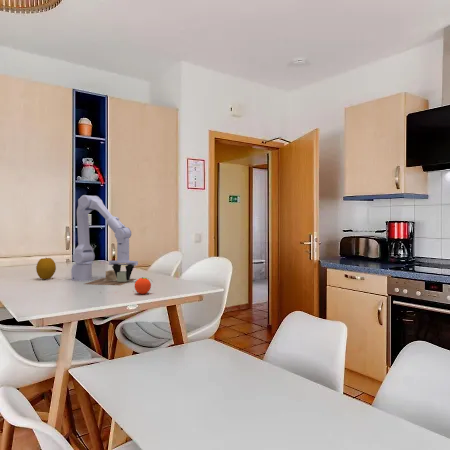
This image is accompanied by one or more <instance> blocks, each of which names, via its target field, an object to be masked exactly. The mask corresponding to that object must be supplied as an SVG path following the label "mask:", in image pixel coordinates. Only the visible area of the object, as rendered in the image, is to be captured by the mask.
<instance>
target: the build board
mask: <svg viewBox="0 0 450 450" xmlns="http://www.w3.org/2000/svg"><path fill="white" fill-rule="evenodd" d="M135 280H136V281H137V278H130V280H129V281H127V282H117V280H106V277H101V278H98V279H95V280H93V281H92V280H91V281H88V282H86V283H84V285H94V286H97V285H98V286H122V285H125V284H127V283H131V282H134V281H135Z"/></svg>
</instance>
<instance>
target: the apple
mask: <svg viewBox="0 0 450 450" xmlns="http://www.w3.org/2000/svg"><path fill="white" fill-rule="evenodd" d="M56 265H57V264H56V263H55V261H54V260H53V258H51V257H47V256H46V257H45V258H44V257H43V258H40V259H39V260H38V261H37V263H36V266H35V268H36V270H35V271H36V273H37V276H38V277H39V278H40V280H48V279H51V278H52V277H53V276H54V274H55V273H56V270H57V266H56Z"/></svg>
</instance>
